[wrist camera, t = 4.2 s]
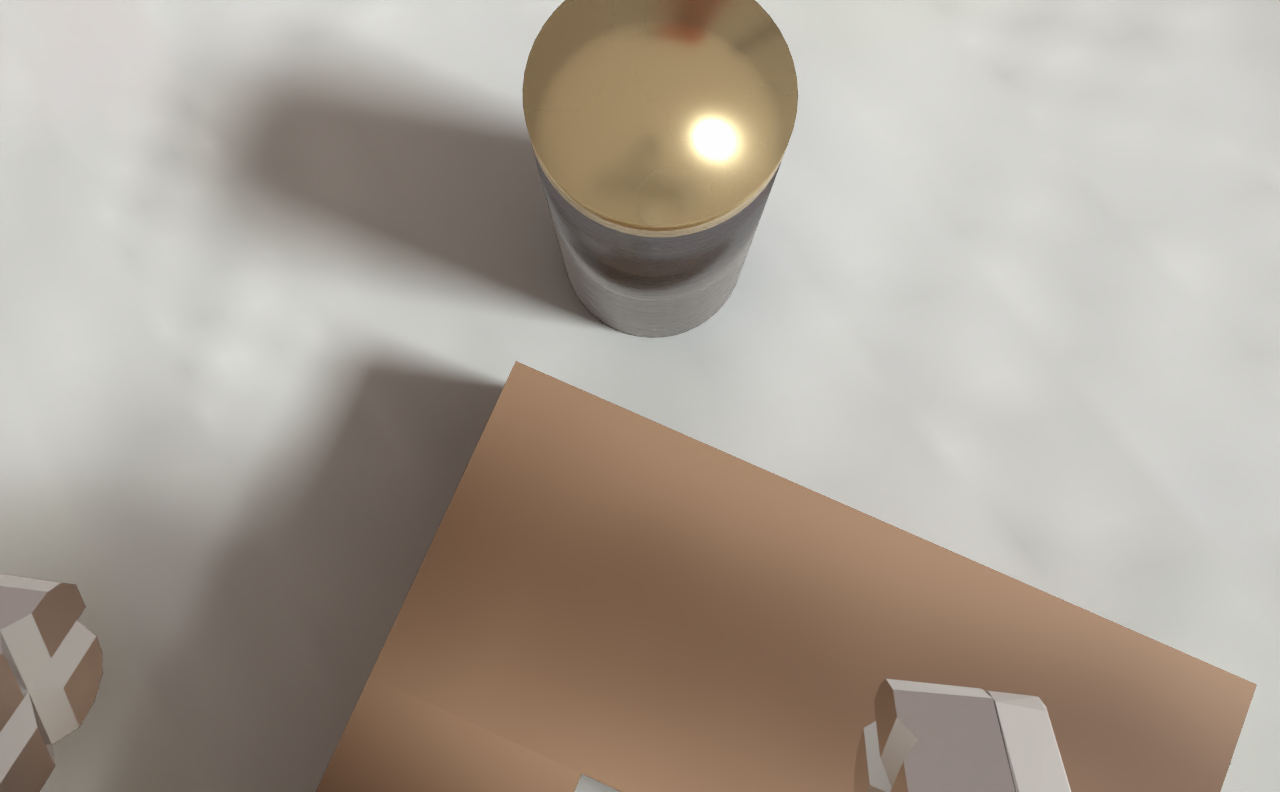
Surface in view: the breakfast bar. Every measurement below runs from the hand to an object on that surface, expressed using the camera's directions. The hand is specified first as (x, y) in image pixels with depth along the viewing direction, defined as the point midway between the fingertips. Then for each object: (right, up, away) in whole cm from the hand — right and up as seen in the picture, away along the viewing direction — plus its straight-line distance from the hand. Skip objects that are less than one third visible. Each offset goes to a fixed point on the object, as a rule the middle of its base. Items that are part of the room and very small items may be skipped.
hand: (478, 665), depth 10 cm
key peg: (+2, +6, +12) cm, 14 cm away
